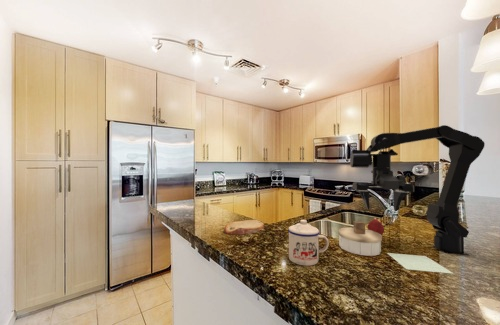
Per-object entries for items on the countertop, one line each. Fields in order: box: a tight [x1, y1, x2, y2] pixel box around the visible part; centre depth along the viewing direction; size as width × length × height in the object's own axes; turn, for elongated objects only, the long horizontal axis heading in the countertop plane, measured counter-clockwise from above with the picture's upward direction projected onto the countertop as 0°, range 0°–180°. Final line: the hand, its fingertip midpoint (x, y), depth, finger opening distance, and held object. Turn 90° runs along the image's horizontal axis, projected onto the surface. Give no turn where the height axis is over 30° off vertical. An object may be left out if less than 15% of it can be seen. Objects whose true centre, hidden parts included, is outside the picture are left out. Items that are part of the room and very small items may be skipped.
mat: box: [386, 252, 454, 275], centre depth 60 cm, size 11×11×1 cm
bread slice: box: [223, 219, 265, 236], centre depth 92 cm, size 18×18×4 cm
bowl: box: [338, 234, 382, 257], centre depth 70 cm, size 12×12×4 cm
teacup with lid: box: [287, 219, 330, 267], centre depth 61 cm, size 12×9×12 cm
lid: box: [338, 220, 383, 243], centre depth 70 cm, size 13×13×5 cm
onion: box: [366, 217, 385, 236], centre depth 83 cm, size 6×6×8 cm
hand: (381, 210), depth 75 cm, fingers open, 9 cm apart
